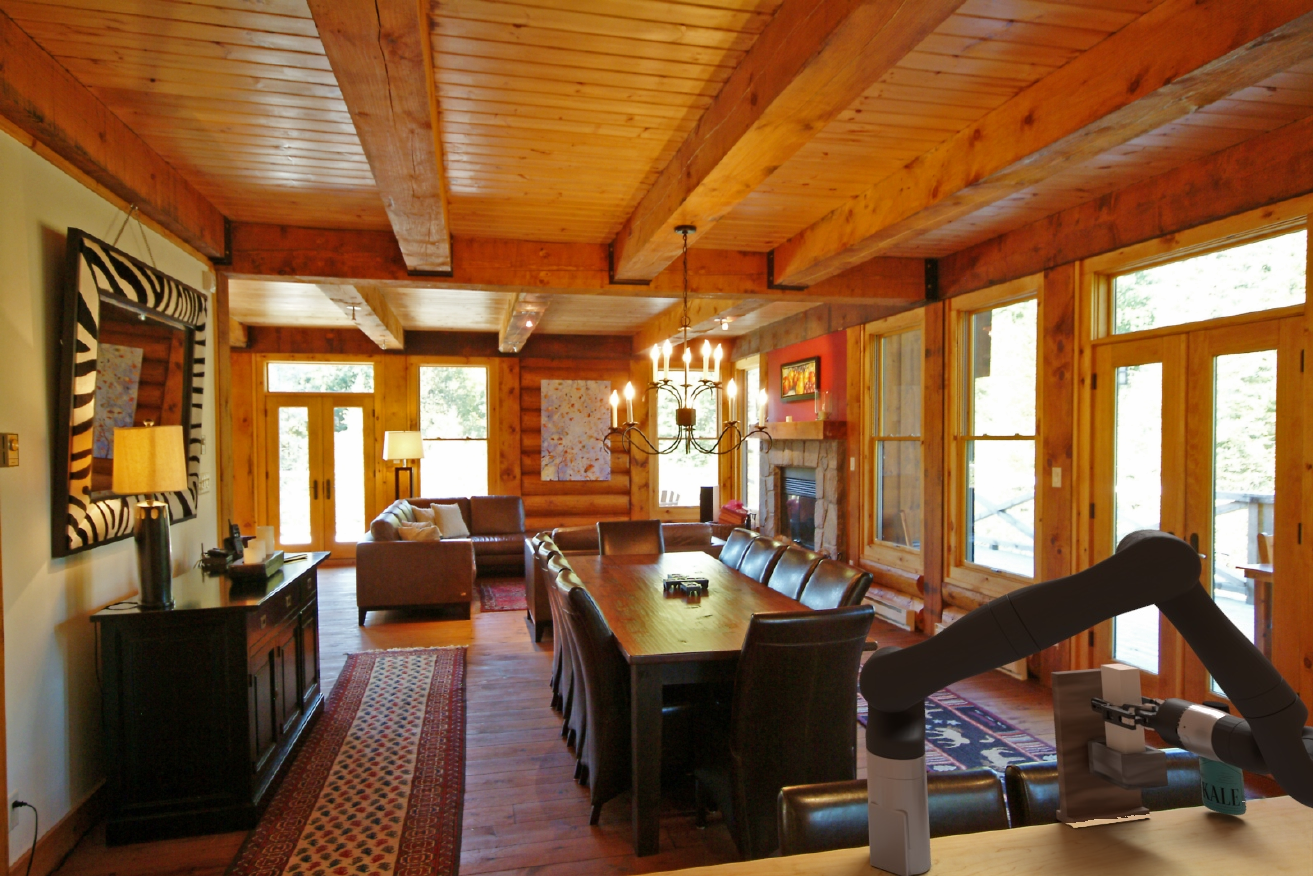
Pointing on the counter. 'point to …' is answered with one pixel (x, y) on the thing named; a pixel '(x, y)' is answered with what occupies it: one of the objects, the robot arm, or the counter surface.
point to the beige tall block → (1119, 689)
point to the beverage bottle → (1221, 780)
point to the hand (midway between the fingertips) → (1113, 702)
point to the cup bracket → (1096, 756)
